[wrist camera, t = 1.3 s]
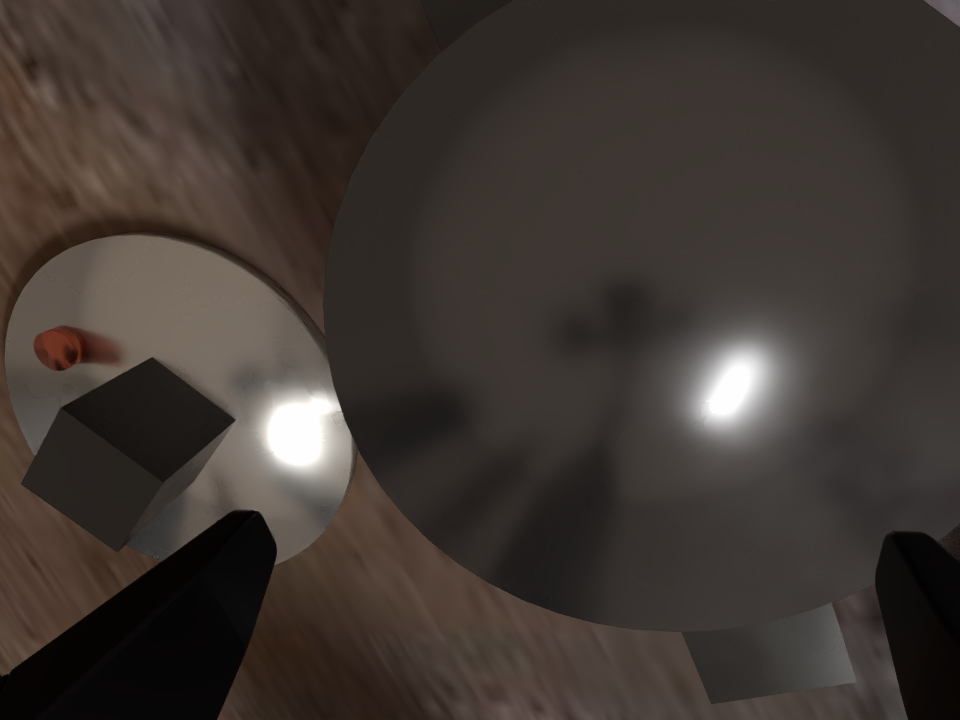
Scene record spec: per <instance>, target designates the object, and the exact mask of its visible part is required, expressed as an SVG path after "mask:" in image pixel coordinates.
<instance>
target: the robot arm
mask: <svg viewBox="0 0 960 720" xmlns="http://www.w3.org/2000/svg"><path fill="white" fill-rule="evenodd" d="M276 557H277V545H276V542H275V539H274V537H273V535H272V533H271V531H270V529H269V527H268V525H267V523H266V521H265V519H264V517H263V516H262V514H261V513H260V512H259V511H257V510H245V509H237V510H233V511H231V512H229V513H228V514H227V515H225V516H224V517H222V518H221V519H220V520H218V521H217V522H215V523H214V524H213V525H211V526H210V527H209V528H207V529H206V530H204V531H203V532H202V533H200V534H199V535H198V536H196V537H195V538H193V539H192V540H191V541H189V542H188V543H186V544H185V545H184V546H182V547H181V548H180V549H178V550H177V551H175V552H174V553H173V554H171V555H170V556H169V557H167V558H166V559H164V560H163V561H162V562H160V563H159V564H158V565H156V566H155V567H153V568H152V569H151V570H149V571H148V572H146V573H145V574H144V575H142V576H141V577H140V578H138V579H137V580H135V581H134V582H133V583H131V584H130V585H129V586H127V587H126V588H124V589H123V590H122V591H120V592H119V593H117V594H116V595H115V596H113V597H112V598H111V599H109V600H108V601H106V602H105V603H104V604H102V605H101V606H100V607H98V608H97V609H95V610H94V611H93V612H91V613H90V614H88V615H87V616H86V617H84V618H83V619H82V620H80V621H79V622H77V623H76V624H75V625H73V626H72V627H70V628H69V629H68V630H66V631H65V632H64V633H62V634H61V635H59V636H58V637H57V638H55V639H54V640H53V641H51V642H50V643H48V644H47V645H46V646H44V647H43V648H41V649H40V650H39V651H37V652H36V653H35V654H33V655H32V656H30V657H29V658H28V659H26V660H25V661H24V662H22V663H21V664H19V665H18V666H17V667H15V668H14V669H13V670H11V672H10V674H6V675H4V676H3V677H1V678H0V720H217V719H218V716H219V714H220V712H221V709H222V707H223V705H224V702H225V700H226V698H227V695H228V693H229V691H230V688H231V686H232V684H233V681H234V679H235V677H236V674H237V672H238V669H239V667H240V665H241V662H242V660H243V657H244V655H245V652H246V650H247V647H248V644H249V642H250V639H251V636H252V633H253V630H254V627H255V624H256V621H257V617H258V614H259V611H260V608H261V605H262V602H263V599H264V595H265V592H266V589H267V586H268V583H269V580H270V577H271V573H272V570H273V567H274V564H275V561H276ZM875 586H876V592H877V596H878V601H879V605H880V609H881V613H882V617H883V621H884V626H885V630H886V634H887V638H888V642H889V646H890V651H891V655H892V659H893V663H894V667H895V671H896V676H897V680H898V684H899V688H900V692H901V696H902V700H903V704H904V707H905V711H906V714H907V717H908V720H960V561H959V560H958V559H957V558H955V557H954V556H953V555H952V554H951V553H950V552H948V551H947V550H946V549H945V548H944V547H943V546H942V545H940V544H939V543H938V542H937V541H936V540H935V539H933V538H932V537H931V536H930V535H928V534H926V533H923V532H917V531H890V532H888V533H887V534H886V535H885V538H884V541H883V544H882V548H881V552H880V556H879V560H878V564H877V568H876V572H875Z"/></svg>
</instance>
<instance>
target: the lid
mask: <svg viewBox="0 0 960 720" xmlns="http://www.w3.org/2000/svg"><path fill="white" fill-rule="evenodd" d="M5 371H6V380H7V387H8V391H9V395H10V399H11V404H12V407H13V410H14V413H15V416H16V418H17V421H18V424H19V427H20V429H21V431H22V433H23V435H24V437H25V439H26V441H27V443H28V445H29V447H30V449H31V451H32V452H33V454H34V455H35V458H34V460H33V462H32V464H31V465H30V467H29V469H28V471H27V473H26V475H25V477H24V479H23V481H22V483H21V484H22V485H23V486H24V487H26V488H27V489H29V490H30V491H31V492H33V493H34V494H36V495H37V496H38V497H40V498H41V499H43V500H44V501H46V502H47V503H48V504H50V505H51V506H53V507H54V508H55V509H57V510H58V511H60V512H61V513H62V514H64V515H65V516H67V517H68V518H70V519H71V520H72V521H74V522H75V523H77V524H78V525H79V526H81V527H82V528H84V529H85V530H87V531H88V532H89V533H91V534H92V535H94V536H95V537H96V538H98V539H99V540H101V541H102V542H103V543H105V544H106V545H108V546H109V547H111V548H112V549H113V550H115V551H116V552H118V551H119V550H120V549H122V548H123V547H124V546H125V545H128V546H130V547H132V548H134V549H136V550H138V551H139V552H141V553H143V554H146V555H148V556H151V557H153V558H156V559H158V560H160V561H163V560H164V559H166V558H167V557H169V556H170V555H171V554H173V553H174V552H175V551H177V550H178V549H180V548H181V547H182V546H184V545H185V544H186V543H188V542H189V541H191V540H192V539H193V538H195V537H196V536H198V535H199V534H200V533H202V532H203V531H204V530H206V529H207V528H209V527H210V526H211V525H213V524H214V523H215V522H217V521H218V520H220V519H221V518H222V517H224V516H225V515H227V514H228V513H229V512H231V511H233V510H237V509H245V510H257V511H259V512H260V513H261V514H262V516H263V517H264V519H265V521H266V523H267V525H268V527H269V529H270V531H271V533H272V535H273V537H274V539H275V542H276V545H277V557H276V561H275V564H274V565H276V564H279V563H281V562H283V561H285V560H287V559H289V558H291V557H293V556H295V555H297V554H298V553H300V552H301V551H303V550H304V549H305V548H307V547H308V546H310V545H311V544H312V543H313V542H314V541H315V540H316V539H317V538H318V537H319V536H320V535H321V534H322V533H323V532H324V530H325V529H326V528H327V526H328V525H329V524H330V522H331V521H332V519H333V518H334V517H335V515H336V514H337V512H338V510H339V509H340V507H341V506H342V504H343V502H344V500H345V498H346V496H347V494H348V492H349V490H350V487H351V483H352V480H353V477H354V474H355V470H356V463H357V456H358V448H357V445H356V443H355V441H354V439H353V437H352V435H351V433H350V431H349V428H348V426H347V424H346V422H345V420H344V417H343V413H342V410H341V407H340V404H339V401H338V398H337V395H336V392H335V389H334V386H333V382H332V377H331V371H330V366H329V361H328V356H327V350H326V344H325V336H324V335H323V333H322V332H321V331H320V329H319V328H318V327H317V325H316V324H315V322H314V321H313V320H312V318H311V317H310V316H309V315H308V314H307V313H306V312H305V310H304V309H303V308H302V307H301V306H300V305H299V304H298V303H297V302H296V301H295V299H294V298H293V297H292V296H291V295H289V294H288V293H287V292H286V291H285V290H284V289H283V288H281V287H280V286H279V285H278V284H277V283H276V282H275V281H273V280H272V279H271V278H270V277H268V276H267V275H265V274H264V273H262V272H261V271H260V270H258V269H257V268H255V267H254V266H252V265H251V264H250V263H248V262H246V261H244V260H242V259H240V258H239V257H237V256H235V255H233V254H231V253H229V252H227V251H226V250H223V249H221V248H218V247H215V246H213V245H210V244H208V243H205V242H203V241H200V240H196V239H192V238H188V237H184V236H180V235H176V234H168V233H160V232H127V233H122V234H116V235H111V236H106V237H102V238H98V239H94V240H90V241H88V242H85V243H82V244H79V245H77V246H74V247H71V248H69V249H67V250H66V251H64V252H62V253H60V254H59V255H57V256H55V257H54V258H52V259H51V260H50V261H48V262H47V263H46V264H45V265H44V266H43V267H41V268H40V269H39V270H38V271H37V272H36V273H35V274H34V276H33V277H32V278H31V279H30V281H29V282H28V283H27V284H26V286H25V287H24V289H23V290H22V292H21V294H20V296H19V298H18V300H17V302H16V303H15V306H14V309H13V312H12V315H11V318H10V321H9V323H8V329H7V335H6V341H5Z"/></svg>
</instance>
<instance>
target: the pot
mask: <svg viewBox="0 0 960 720" xmlns="http://www.w3.org/2000/svg"><path fill="white" fill-rule="evenodd" d="M421 3H422V5H423V7H424V10H425V12H426V15H427V17H428V19H429V22H430V24H431V27H432V29H433V32H434V34H435V36H436V39H437V41H438V44H439V46H440V48H441V51H442V52H441V53H440V54H439V55H438V56H436V57H435V58H434V59H433V60H432V61H431V62H430V63H429V65H428V66H427V67H426V68H425V69H424V70H423V71H422V72H421V73H420V74H419V75H418V77H417V78H416V79H415V80H414V81H413V82H412V83H411V84H410V85H409V86H408V88H407V89H406V90H405V91H404V92H403V93H402V94H401V95H400V96H399V98H398V99H397V101H396V102H395V103H394V105H393V106H392V108H391V109H390V111H389V112H388V114H387V115H386V116H385V118H384V119H383V121H382V122H381V124H380V125H379V127H378V128H377V129H376V131H375V132H374V134H373V135H372V137H371V139H370V140H369V142H368V144H367V146H366V148H365V150H364V152H363V154H362V156H361V158H360V160H359V162H358V164H357V166H356V168H355V170H354V172H353V174H352V176H351V178H350V180H349V183H348V186H347V189H346V191H345V194H344V197H343V200H342V203H341V206H340V209H339V211H338V214H337V217H336V220H335V224H334V229H333V233H332V238H331V243H330V248H329V253H328V258H327V262H326V274H325V288H324V301H323V310H324V327H325V344H326V350H327V356H328V361H329V366H330V371H331V377H332V382H333V386H334V389H335V392H336V395H337V398H338V401H339V404H340V407H341V410H342V413H343V417H344V420H345V422H346V424H347V426H348V428H349V431H350V433H351V435H352V437H353V439H354V441H355V443H356V445H357V448H358V450H359V452H360V454H361V456H362V457H363V459H364V461H365V462H366V464H367V465H368V467H369V469H370V470H371V472H372V473H373V475H374V477H375V478H376V480H377V481H378V483H379V485H380V486H381V487H382V489H383V490H384V491H385V492H386V494H387V495H388V496H389V497H390V499H391V500H392V501H393V502H394V504H395V505H396V506H397V507H398V509H399V510H400V511H401V512H402V514H403V515H404V516H405V517H406V518H407V519H408V520H409V521H410V522H411V523H412V524H413V525H414V526H415V527H416V528H417V529H418V530H419V531H420V532H421V533H422V534H423V535H424V536H425V537H426V538H427V539H428V540H429V541H431V542H432V543H433V544H434V545H436V546H437V547H438V548H439V549H441V550H442V551H443V552H444V553H446V554H447V555H448V556H449V557H451V558H452V559H453V560H454V561H456V562H457V563H458V564H460V565H461V566H463V567H464V568H466V569H468V570H469V571H471V572H472V573H474V574H476V575H477V576H479V577H480V578H482V579H483V580H485V581H487V582H488V583H490V584H492V585H494V586H496V587H498V588H500V589H502V590H504V591H506V592H508V593H510V594H512V595H514V596H516V597H518V598H520V599H522V600H524V601H527V602H530V603H532V604H535V605H538V606H540V607H543V608H546V609H548V610H551V611H554V612H556V613H559V614H563V615H567V616H570V617H574V618H578V619H582V620H586V621H589V622H593V623H598V624H604V625H610V626H616V627H622V628H629V629H636V630H652V631H668V632H682V634H683V636H684V639H685V641H686V644H687V646H688V649H689V651H690V653H691V656H692V658H693V661H694V663H695V666H696V668H697V670H698V673H699V675H700V678H701V680H702V682H703V685H704V687H705V690H706V692H707V695H708V697H709V699H710V702H711V704H715V703H722V702H729V701H735V700H742V699H749V698H755V697H762V696H768V695H775V694H782V693H788V692H795V691H801V690H808V689H815V688H821V687H828V686H835V685H841V684H848V683H854V682H857V681H856V678H855V674H854V671H853V668H852V665H851V662H850V659H849V656H848V653H847V649H846V646H845V643H844V640H843V637H842V634H841V631H840V628H839V624H838V621H837V618H836V615H835V612H834V609H833V606H832V603H833V602H836V601H838V600H840V599H843V598H845V597H847V596H849V595H851V594H853V593H855V592H857V591H860V590H862V589H864V588H866V587H868V586H870V585H872V584H875V572H876V568H877V564H878V560H879V556H880V552H881V548H882V544H883V541H884V538H885V535H886V534H887V533H888V532H890V531H917V532H923V533H926V534H928V535H930V536H931V537H932V538H933V539H935V540H936V541H937V542H938V541H940V540H941V539H942V538H943V537H945V536H946V535H947V534H949V533H950V532H951V531H952V530H953V529H954V528H955V527H956V526H957V525H959V524H960V27H959V26H957V25H956V24H955V23H953V22H952V21H951V20H949V19H948V18H947V17H945V16H944V15H943V14H941V13H940V12H939V11H937V10H936V9H934V8H933V7H932V6H930V5H929V4H928V3H926V2H925V1H924V0H421Z"/></svg>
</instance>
